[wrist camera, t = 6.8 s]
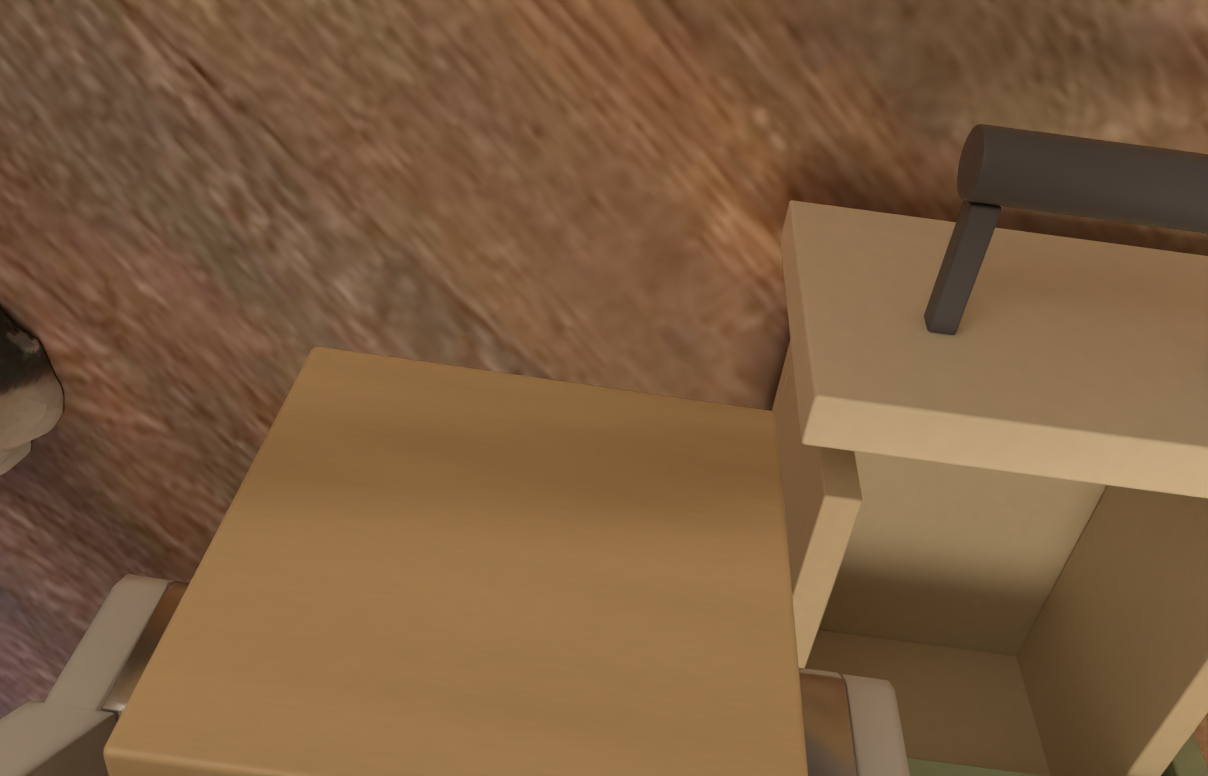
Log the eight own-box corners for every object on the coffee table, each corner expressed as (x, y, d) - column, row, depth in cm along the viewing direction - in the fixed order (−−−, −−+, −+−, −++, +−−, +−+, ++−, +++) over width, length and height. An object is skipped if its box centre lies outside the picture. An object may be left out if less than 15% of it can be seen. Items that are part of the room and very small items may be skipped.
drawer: (831, 21, 23) (875, 182, 17) (1359, 92, 23) (1601, 280, 17) (694, 602, 35) (690, 827, 28) (1048, 649, 35) (1123, 885, 28)
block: (311, 342, 11) (98, 752, 7) (778, 408, 11) (818, 849, 7) (329, 648, 14) (183, 1055, 10) (697, 698, 14) (694, 1123, 10)
